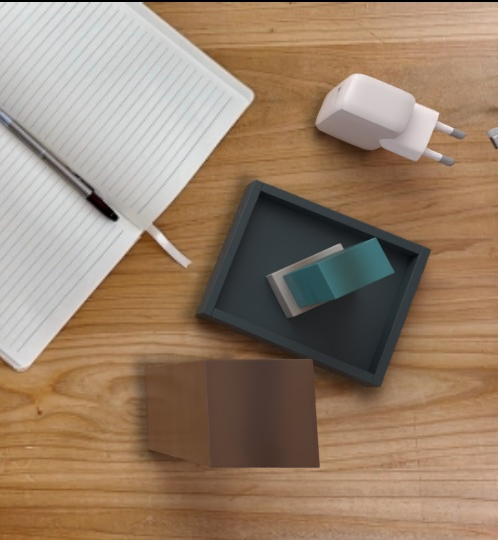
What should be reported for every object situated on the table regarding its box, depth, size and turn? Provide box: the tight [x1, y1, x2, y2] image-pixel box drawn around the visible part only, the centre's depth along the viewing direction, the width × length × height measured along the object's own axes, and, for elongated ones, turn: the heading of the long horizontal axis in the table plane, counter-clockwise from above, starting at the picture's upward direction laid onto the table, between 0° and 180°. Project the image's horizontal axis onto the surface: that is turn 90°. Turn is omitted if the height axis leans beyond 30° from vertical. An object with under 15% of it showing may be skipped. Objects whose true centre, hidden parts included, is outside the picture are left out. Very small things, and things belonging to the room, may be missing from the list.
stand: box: [144, 358, 321, 469], centre depth 65 cm, size 7×7×18 cm
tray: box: [194, 179, 432, 388], centre depth 74 cm, size 16×13×2 cm
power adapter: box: [314, 73, 467, 167], centre depth 73 cm, size 11×5×6 cm, turn 65°
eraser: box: [266, 238, 394, 318], centre depth 70 cm, size 6×4×8 cm, turn 114°
